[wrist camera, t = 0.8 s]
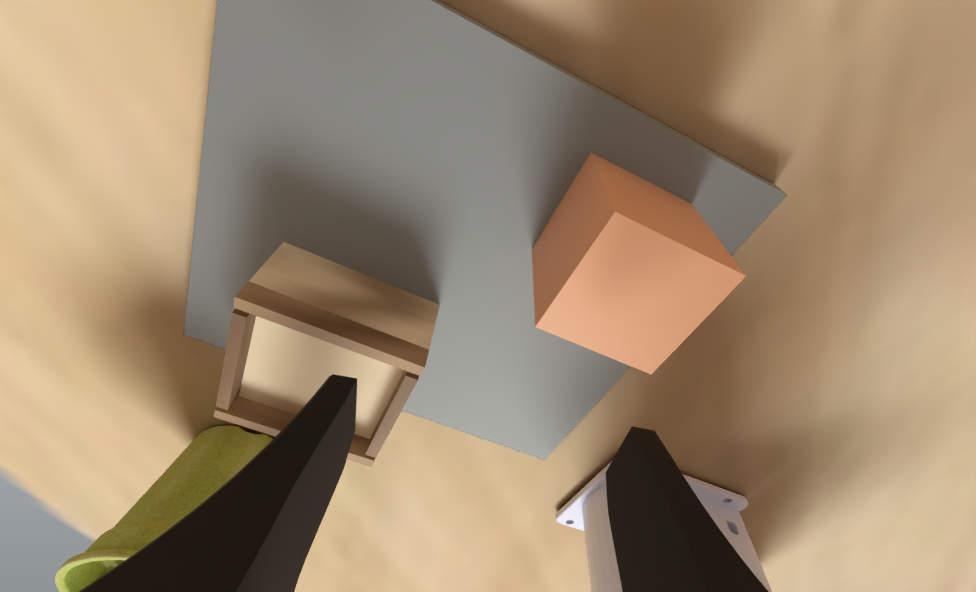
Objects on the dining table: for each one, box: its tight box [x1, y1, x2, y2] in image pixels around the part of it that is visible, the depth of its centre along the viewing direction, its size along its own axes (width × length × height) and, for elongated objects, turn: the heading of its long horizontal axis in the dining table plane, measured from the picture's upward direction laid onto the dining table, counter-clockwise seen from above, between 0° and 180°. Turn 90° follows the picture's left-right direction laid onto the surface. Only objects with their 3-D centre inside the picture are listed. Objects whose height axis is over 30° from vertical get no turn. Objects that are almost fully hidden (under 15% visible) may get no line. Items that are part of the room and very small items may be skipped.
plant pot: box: [55, 425, 273, 592], centre depth 26 cm, size 9×9×9 cm
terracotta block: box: [532, 153, 746, 374], centre depth 16 cm, size 4×4×5 cm
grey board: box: [183, 0, 787, 460], centre depth 20 cm, size 20×18×1 cm
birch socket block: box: [214, 242, 440, 467], centre depth 20 cm, size 7×7×4 cm
